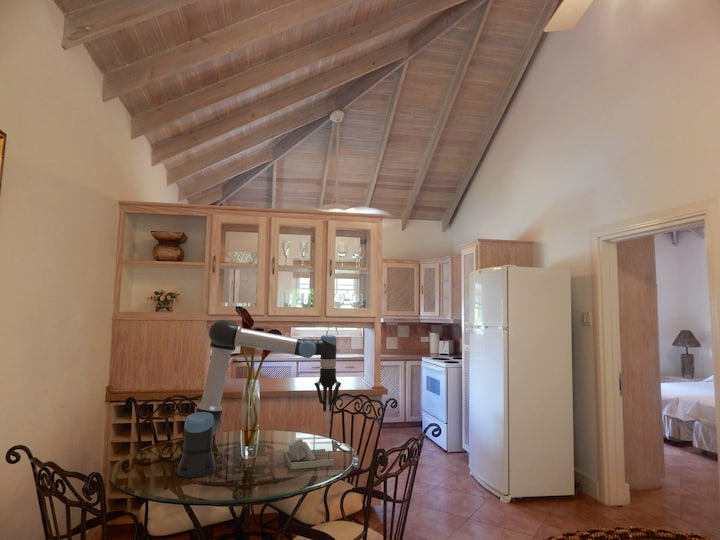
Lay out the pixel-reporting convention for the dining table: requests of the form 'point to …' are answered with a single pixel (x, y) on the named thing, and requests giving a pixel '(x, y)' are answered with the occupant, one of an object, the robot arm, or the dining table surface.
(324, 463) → the keeper channel
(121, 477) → the dining table surface
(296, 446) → the wall hook
